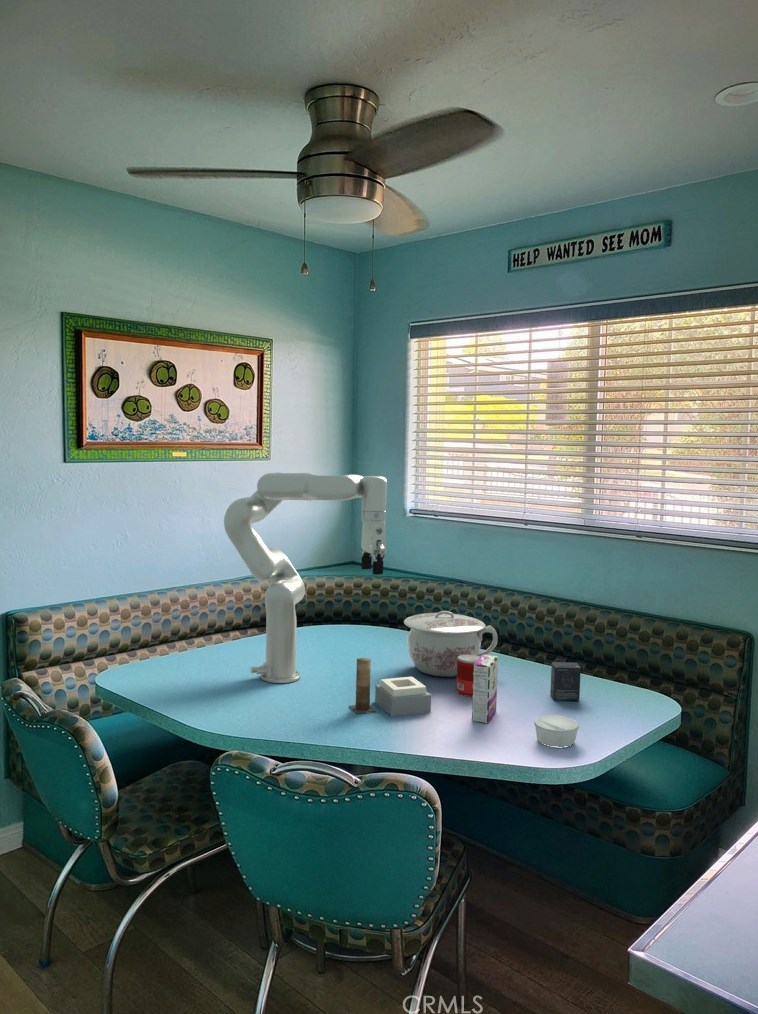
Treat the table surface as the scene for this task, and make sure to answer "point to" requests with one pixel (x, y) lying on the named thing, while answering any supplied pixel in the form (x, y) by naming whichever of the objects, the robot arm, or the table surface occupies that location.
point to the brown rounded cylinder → (363, 683)
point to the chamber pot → (444, 641)
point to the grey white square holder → (403, 696)
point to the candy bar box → (484, 688)
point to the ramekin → (556, 730)
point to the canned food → (465, 674)
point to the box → (565, 681)
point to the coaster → (362, 710)
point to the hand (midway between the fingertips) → (371, 571)
